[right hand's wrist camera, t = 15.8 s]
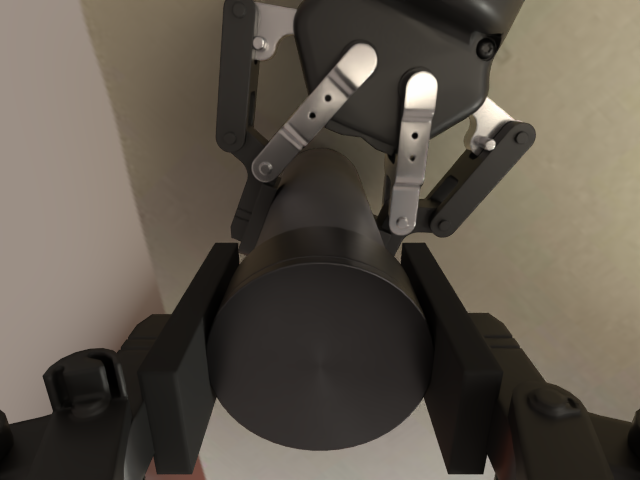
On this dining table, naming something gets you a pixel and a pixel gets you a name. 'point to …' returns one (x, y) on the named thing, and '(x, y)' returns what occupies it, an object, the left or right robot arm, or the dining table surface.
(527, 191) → the dining table surface
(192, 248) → the dining table surface
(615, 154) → the dining table surface
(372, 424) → the lid
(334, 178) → the jar
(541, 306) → the dining table surface
